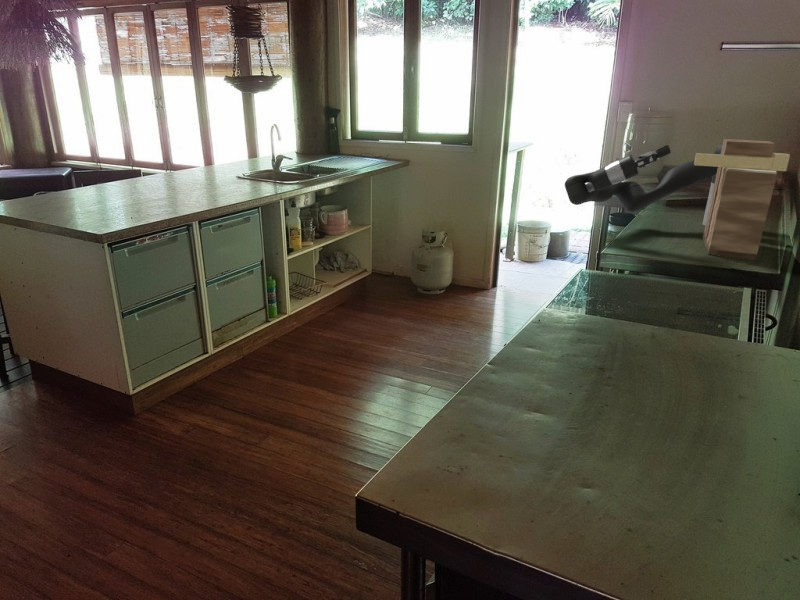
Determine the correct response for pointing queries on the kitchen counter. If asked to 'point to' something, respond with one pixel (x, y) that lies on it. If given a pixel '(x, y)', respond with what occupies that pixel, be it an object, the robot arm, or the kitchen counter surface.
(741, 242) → the stepped wooden block
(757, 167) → the tan wooden bar
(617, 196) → the robot arm
